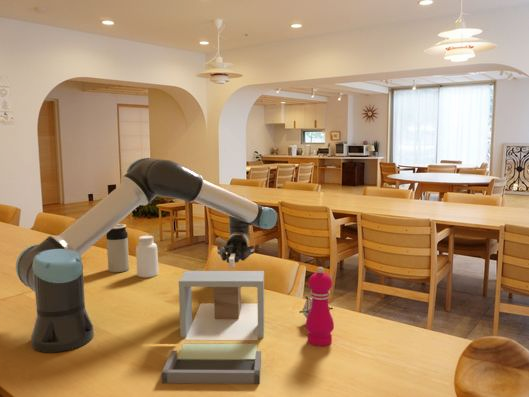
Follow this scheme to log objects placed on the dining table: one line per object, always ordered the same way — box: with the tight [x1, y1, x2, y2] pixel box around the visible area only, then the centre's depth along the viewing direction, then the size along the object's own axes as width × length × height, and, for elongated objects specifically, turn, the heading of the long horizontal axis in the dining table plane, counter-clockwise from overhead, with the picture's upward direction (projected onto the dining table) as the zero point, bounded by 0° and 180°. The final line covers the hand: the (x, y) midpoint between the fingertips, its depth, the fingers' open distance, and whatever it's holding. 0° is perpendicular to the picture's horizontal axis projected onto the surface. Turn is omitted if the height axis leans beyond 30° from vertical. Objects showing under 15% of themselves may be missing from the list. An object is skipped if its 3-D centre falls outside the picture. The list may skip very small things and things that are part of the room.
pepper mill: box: [305, 266, 335, 347], centre depth 121 cm, size 7×7×20 cm
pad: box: [177, 342, 258, 360], centre depth 118 cm, size 12×19×1 cm, turn 89°
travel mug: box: [105, 223, 130, 274], centre depth 185 cm, size 8×8×18 cm
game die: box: [299, 295, 334, 319], centre depth 133 cm, size 9×8×10 cm
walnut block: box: [213, 287, 242, 319], centre depth 139 cm, size 9×7×11 cm
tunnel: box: [178, 270, 265, 341], centre depth 133 cm, size 26×22×16 cm
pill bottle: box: [135, 235, 159, 279], centre depth 178 cm, size 8×8×15 cm
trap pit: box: [161, 350, 262, 385], centre depth 107 cm, size 10×21×2 cm, turn 89°
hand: (231, 263), depth 146 cm, fingers closed
